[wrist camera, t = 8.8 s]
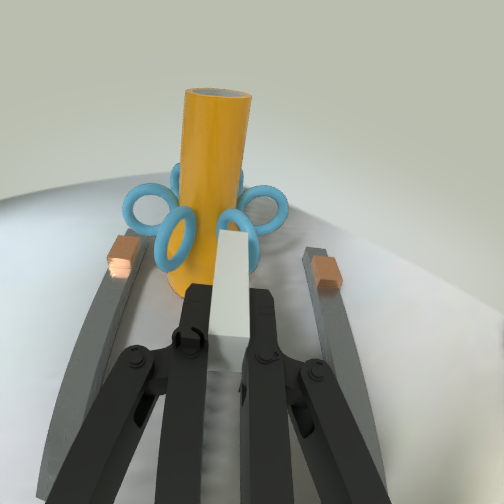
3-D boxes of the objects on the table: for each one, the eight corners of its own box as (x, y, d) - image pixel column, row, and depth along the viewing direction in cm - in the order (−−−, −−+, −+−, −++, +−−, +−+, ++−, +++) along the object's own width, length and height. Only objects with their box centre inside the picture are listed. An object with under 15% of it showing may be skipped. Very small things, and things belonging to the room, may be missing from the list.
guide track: (377, 519, 10) (400, 515, 9) (47, 499, 8) (27, 494, 7) (321, 260, 29) (328, 240, 28) (129, 241, 27) (127, 219, 26)
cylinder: (186, 225, 31) (196, 79, 21) (281, 258, 28) (319, 101, 19) (109, 299, 21) (80, 101, 12) (229, 358, 19) (269, 125, 10)
